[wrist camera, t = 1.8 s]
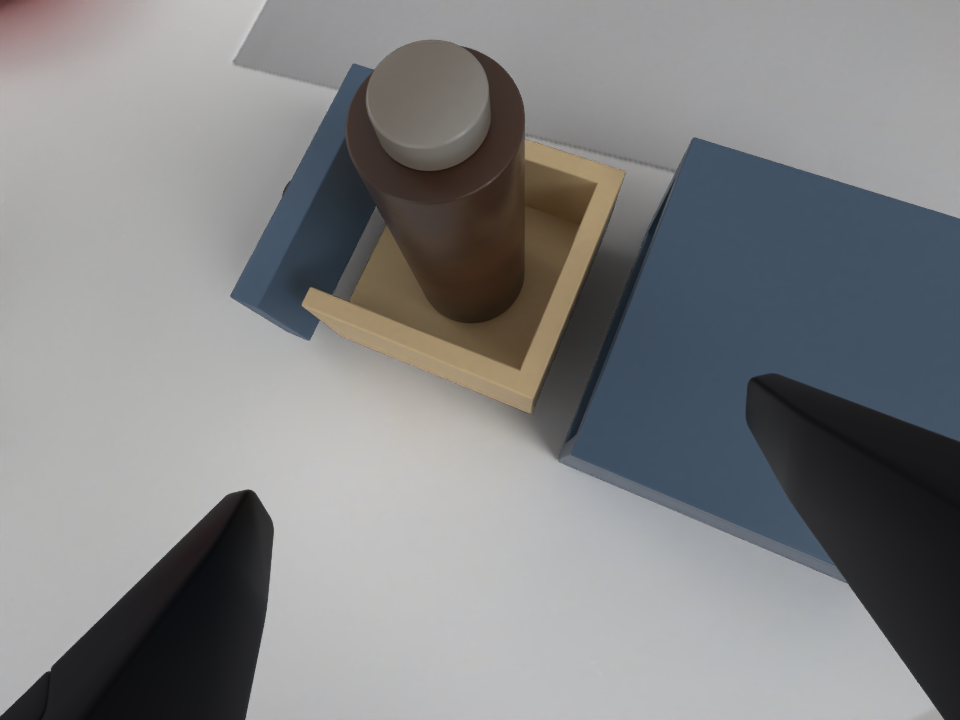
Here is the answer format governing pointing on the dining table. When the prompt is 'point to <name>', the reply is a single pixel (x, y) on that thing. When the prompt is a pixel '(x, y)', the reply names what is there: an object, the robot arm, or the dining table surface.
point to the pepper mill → (447, 172)
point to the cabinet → (765, 335)
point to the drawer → (392, 285)
